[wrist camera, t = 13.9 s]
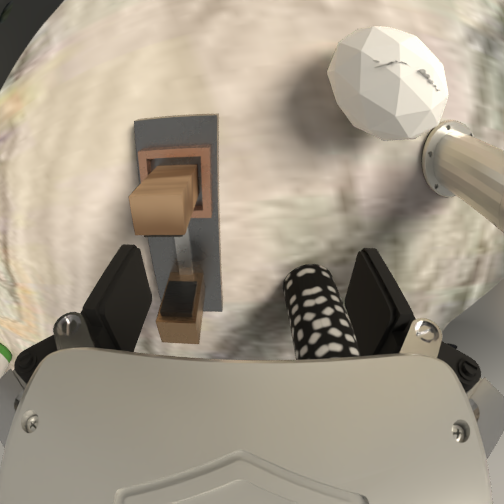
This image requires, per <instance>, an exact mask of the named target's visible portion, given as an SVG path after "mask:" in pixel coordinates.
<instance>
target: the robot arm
mask: <svg viewBox="0 0 504 504" xmlns="http://www.w3.org/2000/svg"><path fill="white" fill-rule="evenodd" d="M422 168H423V173H424V177H425V179H426V182H427V183H428V185H429V187H430V188H431V189H432V190H433V191H435V192H436V193H437V194H439V195H441V196H444V197H454V196H458V197H459V198H461V199H462V200H463V201H465V202H466V203H467V204H469V205H470V206H471V207H473V208H474V209H475V210H476V211H478V212H479V213H480V214H482V215H483V216H484V217H485V218H486V219H488V220H489V221H490V222H491V223H493V224H494V225H495V226H496V227H497V228H498V229H500V230H501V231H502V232H503V233H504V151H503V150H501V149H499V148H497V147H495V146H493V145H490V144H488V143H486V142H484V141H481V140H479V139H477V138H475V136H474V134H473V133H472V131H471V130H470V129H469V128H468V127H467V126H466V125H465V124H463V123H461V122H458V121H454V120H448V121H444V122H442V123H440V124H439V125H438V126H436V127H435V128H434V129H433V130H432V131H431V133H430V134H429V136H428V138H427V140H426V143H425V145H424V150H423V156H422ZM151 302H152V294H151V291H150V287H149V283H148V279H147V276H146V272H145V268H144V264H143V259H142V255H141V251H140V249H139V248H137V247H136V245H122V246H121V247H120V249H119V250H118V252H117V253H116V255H115V256H114V258H113V259H112V261H111V262H110V264H109V265H108V267H107V268H106V270H105V271H104V273H103V275H102V276H101V278H100V279H99V281H98V283H97V284H96V286H95V287H94V289H93V291H92V292H91V294H90V296H89V297H88V299H87V301H86V302H85V304H84V306H83V310H82V311H81V313H77V312H70V313H66V314H64V315H63V316H61V317H60V318H59V319H58V320H57V321H56V323H55V325H54V328H53V332H54V335H52V336H50V337H48V338H46V339H44V340H43V341H41V342H39V343H37V344H35V345H33V346H31V347H29V348H28V349H26V350H24V351H23V352H21V353H20V354H19V355H18V357H17V359H16V361H15V369H14V370H12V369H10V370H9V371H8V372H6V374H4V375H3V376H2V377H1V378H0V441H1V443H2V444H3V446H4V448H5V449H4V453H3V457H2V462H1V468H0V504H493V498H492V490H491V482H490V476H489V469H488V464H487V458H488V457H489V455H490V454H491V452H492V450H493V449H494V447H495V445H496V444H497V442H498V440H499V438H500V437H501V435H502V433H503V431H504V396H503V395H502V394H501V393H500V392H499V391H498V390H497V389H496V388H495V387H494V386H493V385H492V384H491V383H490V382H489V381H488V380H487V379H486V378H485V377H484V378H483V379H482V378H481V371H480V368H479V366H478V364H477V363H476V361H475V360H473V359H472V358H470V357H469V356H466V355H465V354H463V353H461V352H460V351H458V350H456V349H455V348H453V347H451V346H449V345H447V344H446V343H444V342H442V332H441V330H440V328H439V326H438V325H437V324H436V323H434V322H433V321H431V320H429V319H426V318H418V319H415V317H414V315H413V312H412V310H411V308H410V306H409V304H408V302H407V301H406V299H405V297H404V295H403V293H402V292H401V290H400V288H399V286H398V284H397V283H396V281H395V279H394V278H393V276H392V274H391V272H390V271H389V269H388V267H387V266H386V264H385V262H384V261H383V259H382V257H381V256H380V254H379V253H378V251H377V250H376V249H373V248H363V249H362V251H361V252H358V254H357V258H356V262H355V266H354V269H353V273H352V277H351V280H350V284H349V287H348V291H347V294H346V297H345V306H346V309H347V312H348V315H349V319H350V322H351V325H352V328H353V331H354V334H355V337H356V341H357V344H358V347H359V350H360V354H361V356H358V357H344V358H330V359H310V360H222V359H202V358H187V357H175V356H164V355H154V354H145V353H136V352H134V349H135V346H136V343H137V340H138V338H139V335H140V332H141V329H142V326H143V324H144V321H145V318H146V316H147V313H148V310H149V308H150V305H151Z"/></svg>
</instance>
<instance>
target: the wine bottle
mask: <svg viewBox="0 0 504 504" xmlns="http://www.w3.org/2000/svg"><path fill="white" fill-rule="evenodd" d="M11 358H12V355H11V353H10V351H9V350H8V349H7V348H6V347H5V346H4V345H2V344H0V378H1V377H2V376H3V375H4V373H5V371H6V369H7V367H8V365H9V363H10V361H11Z"/></svg>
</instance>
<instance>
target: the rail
mask: <svg viewBox="0 0 504 504" xmlns="http://www.w3.org/2000/svg"><path fill="white" fill-rule="evenodd" d="M134 128H135V141H136V153H137V163H138V173H139V181H140V184H141V183H142V182H143V180H144V179H145V178H146V177H147V176H148V175H149V174H150V173H151V172H152V171H153V170H154V169H155V168H156V167H157V166H164V165H187V164H197V165H198V190H199V196H198V198H197V201H196V204H195V207H194V210H193V213H192V216H191V218H190V221H189V224H188V227H187V230H186V233H185V235H183V237H148V241H149V246H150V252H151V257H152V262H153V267H154V272H155V276H156V281H157V285H158V290H159V294H160V298H161V305H160V309H159V312H158V316H157V319H156V324H157V328H158V331H159V334H160V337H161V340H162V342H168V343H187V344H199V340H200V332H201V323H202V315H203V311H218V312H222V309H223V297H222V275H221V249H220V215H219V114H195V115H178V116H165V117H154V118H145V119H138V120H136V121H134Z"/></svg>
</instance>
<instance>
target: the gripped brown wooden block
mask: <svg viewBox="0 0 504 504" xmlns="http://www.w3.org/2000/svg"><path fill="white" fill-rule="evenodd" d="M198 196H199V190H198V165H197V164H187V165H164V166H157V167H156V168H155V169H154V170H153V171H152V172H151V173H150V174H149V175H148V176H147V177H146V178H145V179H144V180H143V182H142V183H141V184H140V185H139V186H138V187H137V188H136V189H135V190H134V191H133V192H132V194H131V195H130V196H129V202H130V208H131V214H132V220H133V225H134V231H135V235H144V237H183V235H185V233H186V230H187V227H188V224H189V221H190V218H191V216H192V213H193V210H194V207H195V204H196V201H197V198H198Z"/></svg>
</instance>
